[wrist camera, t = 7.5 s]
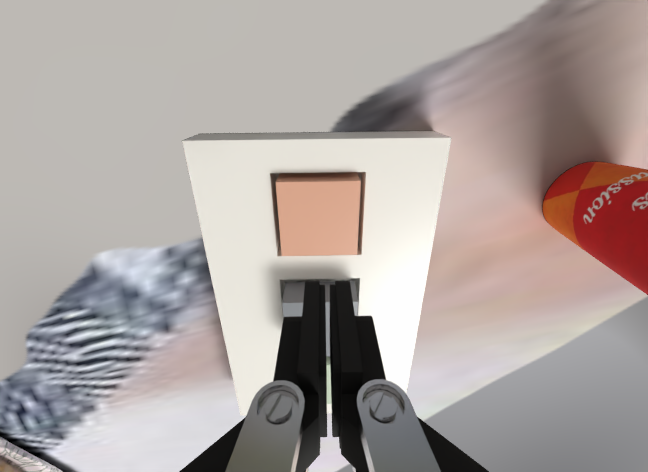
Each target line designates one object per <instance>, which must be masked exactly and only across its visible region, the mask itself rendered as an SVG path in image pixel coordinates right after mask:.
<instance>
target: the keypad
mask: <svg viewBox="0 0 648 472" xmlns="http://www.w3.org/2000/svg"><path fill="white" fill-rule="evenodd" d="M450 143H451V137H448V136H446V135H443V134H440V133H438V132H435V131H392V132H309V133H306V132H303V133H214V134H198V135H195V136H193V137H190V138H188V139H185V140H182V144H183V149H184V153H185V158H186V163H187V167H188V171H189V176H190V181H191V186H192V190H193V195H194V200H195V204H196V209H197V214H198V218H199V223H200V228H201V232H202V237H203V242H204V246H205V251H206V256H207V260H208V265H209V270H210V274H211V279H212V284H213V288H214V293H215V298H216V302H217V307H218V312H219V316H220V321H221V326H222V330H223V335H224V340H225V344H226V349H227V354H228V358H229V363H230V368H231V372H232V377H233V382H234V386H235V391H236V396H237V400H238V405H239V410H240V414H241V416H245V415H247V413H248V410H249V408H250V405H251V402H252V400H253V398H254V396H255V395H256V393H257V392H258V391H259V390H260V389H261V388H262V387H263V386H265V385H266V384H268V383H270V382H273V379H274V373H275V367H276V361H277V355H278V348H279V342H280V336H281V330H282V324H283V319H284V317H283V306H282V301H283V295H284V289H285V283H286V282H305V281H320V282H335V281H341V280H350V281H354V282H355V287H356V293H357V298H358V315H357V316H372V318H373V322H374V326H375V331H376V335H377V340H378V345H379V349H380V354H381V358H382V363H383V367H384V372H385V377H386V380H387V381H391V382H393V383H395V384H396V385H398V386H399V387H400V388H401V389H402V390H404V391H405V393H406V392H407V386H408V381H409V375H410V369H411V364H412V358H413V352H414V347H415V341H416V335H417V330H418V324H419V318H420V313H421V307H422V301H423V296H424V290H425V284H426V279H427V273H428V268H429V262H430V256H431V251H432V245H433V239H434V234H435V228H436V222H437V217H438V211H439V205H440V200H441V194H442V188H443V183H444V177H445V171H446V166H447V160H448V154H449V149H450ZM321 172H357V174H358V176H359V178H360V181H361V186H360V207H359V228H358V248H357V255H310V256H282V253H281V241H280V229H279V217H278V205H277V193H276V180H277V178H278V176H279V173H321ZM327 413H332V404H327Z"/></svg>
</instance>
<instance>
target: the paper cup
mask: <svg viewBox="0 0 648 472" xmlns="http://www.w3.org/2000/svg"><path fill="white" fill-rule="evenodd" d="M543 215H544V217H545V219H546V221H547V222H548V223H549V224H550V225H551V226H552V227H553V228H555V229H556V230H557V231H558V232H560V233H561V234H562V235H564V236H565V237H567V238H568V239H569V240H571V241H572V242H574V243H575V244H576V245H578V246H579V247H581V248H582V249H583V250H585V251H586V252H588V253H589V254H590V255H592V256H593V257H595V258H596V259H597V260H599V261H600V262H602V263H603V264H605V265H606V266H607V267H609V268H610V269H612V270H613V271H614V272H616V273H617V274H619V275H620V276H622V277H623V278H624V279H626V280H627V281H629V282H630V283H631V284H633V285H634V286H636V287H637V288H639V289H640V290H641V291H643V292H644V293H646V294H647V295H648V170H646V169H641V168H635V167H630V166H624V165H618V164H612V163H605V162H586V163H582V164H579V165H576V166H574V167H572V168H570V169H569V170H567V171H565V172H564V173H563V174H561V175H560V176H559V177H558V178H557V179H556V180H555V181H554V182H553V184H552V185H551V186H550V188H549V189H548V191H547V193H546V195H545V198H544V201H543Z"/></svg>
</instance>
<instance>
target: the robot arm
mask: <svg viewBox="0 0 648 472" xmlns="http://www.w3.org/2000/svg"><path fill="white" fill-rule="evenodd" d="M330 370H331V403H332V435H333V437H339V443H340V449H341V454H342V455H343V456H344V457H345V458H346V460H347V461H348V462H349V463H350V464H351V465H352V466H353V472H489V471H487V470H486V469H485V468H484V467H482V466H481V465H480V464H478V463H477V462H476V461H474V460H473V459H472V458H470V457H469V456H468V455H467V454H465V453H464V452H463V451H461V450H460V449H459V448H457V447H456V446H455V445H454V444H452V443H451V442H449V441H448V440H447V439H446V438H444V437H443V436H442V435H440V434H439V433H438V432H436V431H435V430H434V429H433V428H431V427H430V426H428V425H427V424H426V423H425V422H423V421H422V420H421V419H420V418H418V417H417V416H416V414H415V411H414V409H413V407H412V404H411V402H410V400H409V398H408V396H407V395H406V393H405V391H404V390H402V389H401V388H400V387H399V386H398V385H396V384H395V383H393V382H391V381H387V380H386V377H385V372H384V367H383V363H382V358H381V354H380V349H379V345H378V340H377V335H376V331H375V326H374V322H373V318H372V316H355V313H354V306H353V299H352V292H351V285H350V280H341V281H335V284H330ZM320 437H327V365H326V305H325V285H320V281H305V288H304V300H303V312H302V316H290V317H284V319H283V324H282V330H281V336H280V342H279V348H278V355H277V361H276V367H275V373H274V379H273V382H270V383H268V384H266V385H265V386H263V387H262V388H261V389H260V390H259V391H258V392H257V393H256V395H255V396H254V398H253V400H252V402H251V405H250V408H249V410H248V413H247V416H246V417H245V418H244V419H243V420H242V421H241V422H239V423H238V424H237V425H236V426H235V427H233V428H232V429H231V430H230V431H228V432H227V433H226V434H225V435H224V436H222V437H221V438H220V439H219V440H217V441H216V442H215V443H214V444H213V445H211V446H210V447H209V448H208V449H207V450H205V451H204V452H203V453H202V454H200V455H199V456H198V457H197V458H196V459H194V460H193V461H192V462H191V463H189V464H188V465H187V466H186V467H185V468H183V469H182V470H181V471H180V472H308V467H309V466H310V465H311V464H312V462H313V461H314V460H315V459H316V458H317V457H318V456H319V455H320Z"/></svg>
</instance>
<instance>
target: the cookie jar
mask: <svg viewBox="0 0 648 472" xmlns="http://www.w3.org/2000/svg"><path fill="white" fill-rule="evenodd" d="M0 472H63V471H62V470H60V469H58V468H57V467H55V466H53V465H51V464H49V463H47V462H45V461H44V460H42V459H40V458H38V457H36V456H34V455H32V454H30V453H29V452H27V451H25V450H23V449H21V448H19V447H17V446H15V445H13V444H12V443H10V442H8V441H7V440H5V439H3V438H2V437H0Z"/></svg>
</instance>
